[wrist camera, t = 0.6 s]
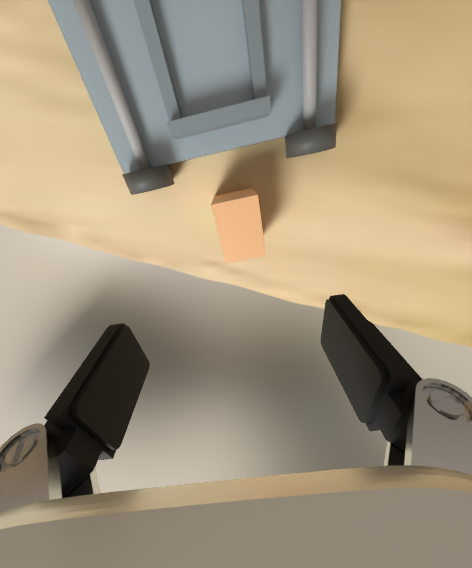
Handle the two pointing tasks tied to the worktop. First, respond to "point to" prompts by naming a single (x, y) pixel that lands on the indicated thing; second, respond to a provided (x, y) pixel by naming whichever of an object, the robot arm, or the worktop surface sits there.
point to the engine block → (239, 224)
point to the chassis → (204, 76)
